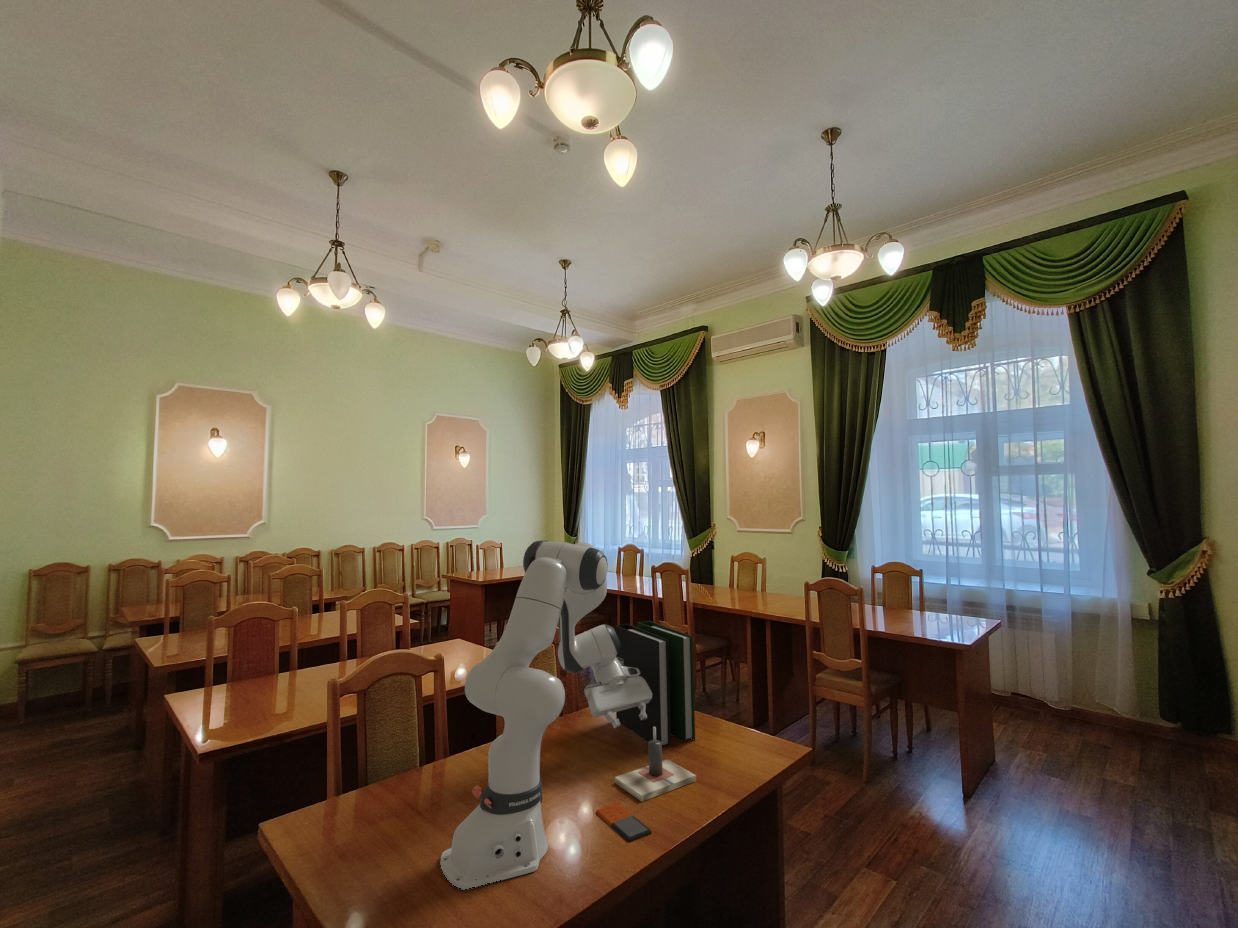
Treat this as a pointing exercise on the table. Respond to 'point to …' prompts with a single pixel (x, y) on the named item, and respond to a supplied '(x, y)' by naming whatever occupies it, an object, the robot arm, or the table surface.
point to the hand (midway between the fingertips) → (631, 722)
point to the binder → (660, 680)
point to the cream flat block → (654, 780)
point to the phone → (623, 822)
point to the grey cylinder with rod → (655, 756)
